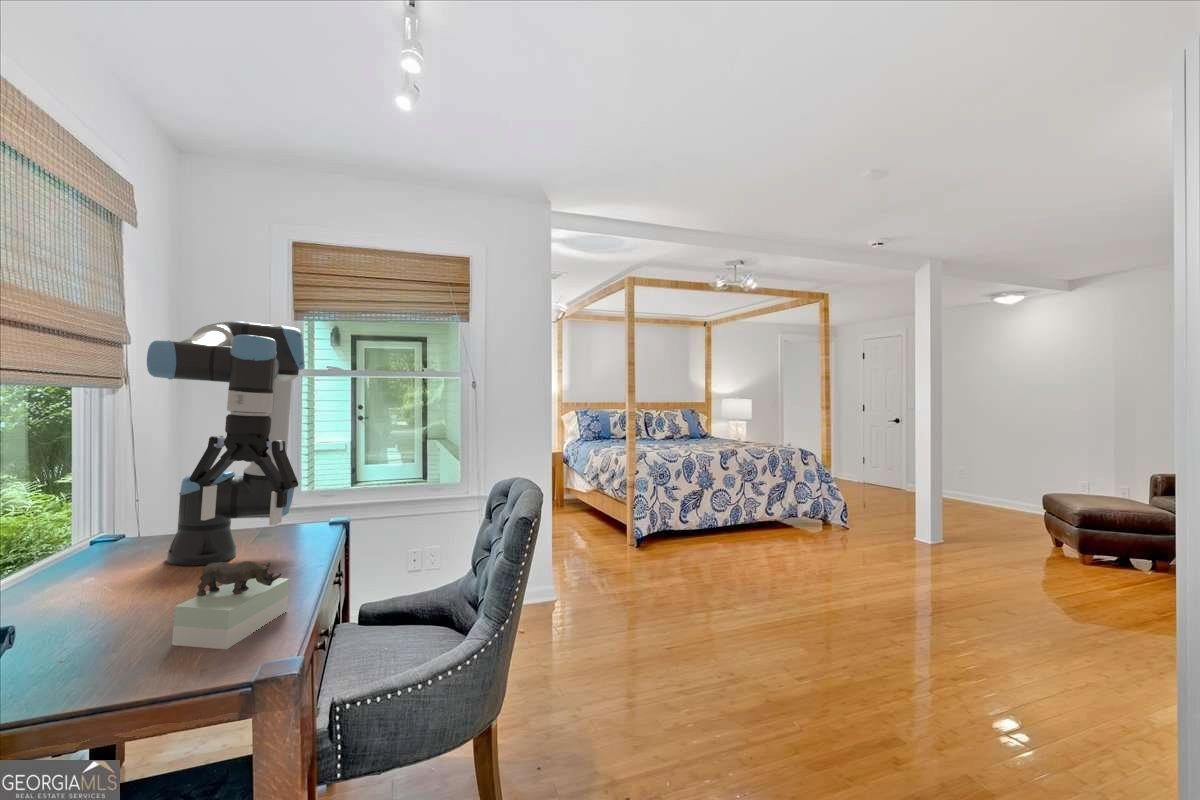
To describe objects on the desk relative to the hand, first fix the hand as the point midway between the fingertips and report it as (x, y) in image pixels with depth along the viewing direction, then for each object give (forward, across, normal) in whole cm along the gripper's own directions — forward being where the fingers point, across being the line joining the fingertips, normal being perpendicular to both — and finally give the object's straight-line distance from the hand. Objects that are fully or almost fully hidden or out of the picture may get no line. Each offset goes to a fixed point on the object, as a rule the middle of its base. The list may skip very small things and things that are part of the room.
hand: (241, 521), depth 107 cm
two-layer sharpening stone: (+21, 0, 0) cm, 21 cm away
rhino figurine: (+14, +1, 0) cm, 14 cm away
